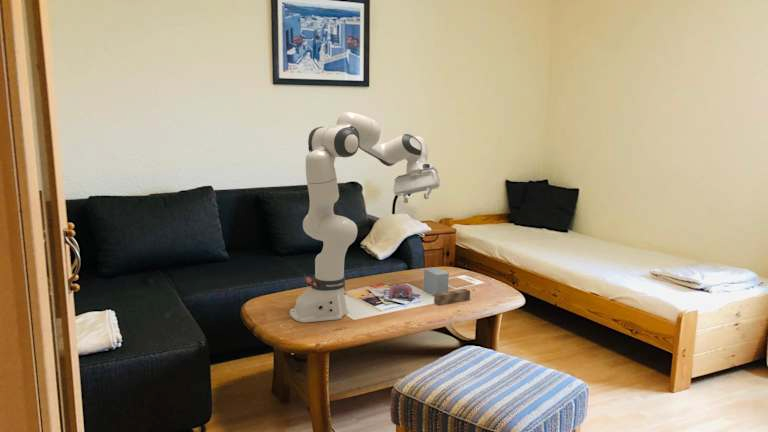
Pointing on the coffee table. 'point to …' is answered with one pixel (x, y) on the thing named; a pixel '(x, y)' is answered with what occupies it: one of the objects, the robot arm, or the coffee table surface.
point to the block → (435, 281)
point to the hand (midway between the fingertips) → (415, 200)
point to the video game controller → (400, 287)
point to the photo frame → (468, 279)
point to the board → (451, 297)
